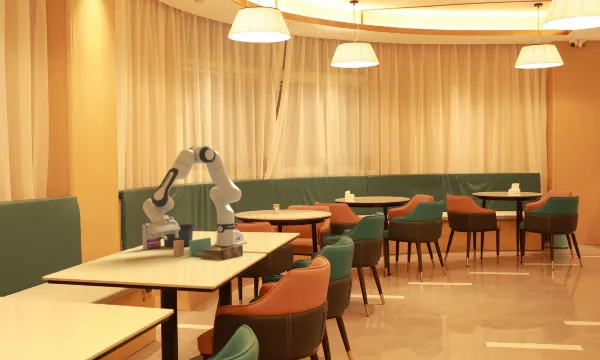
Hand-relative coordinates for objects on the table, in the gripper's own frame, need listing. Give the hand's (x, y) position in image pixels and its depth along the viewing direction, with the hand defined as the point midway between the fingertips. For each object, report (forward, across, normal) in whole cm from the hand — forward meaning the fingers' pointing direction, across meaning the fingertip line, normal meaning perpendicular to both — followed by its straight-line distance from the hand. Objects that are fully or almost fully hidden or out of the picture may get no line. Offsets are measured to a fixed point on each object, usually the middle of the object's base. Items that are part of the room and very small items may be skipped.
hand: (172, 238), depth 387 cm
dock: (+29, +9, -15) cm, 34 cm away
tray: (+22, +9, -8) cm, 25 cm away
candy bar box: (-16, +14, +30) cm, 37 cm away
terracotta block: (+11, 0, +3) cm, 11 cm away
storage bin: (-12, +32, +26) cm, 43 cm away
